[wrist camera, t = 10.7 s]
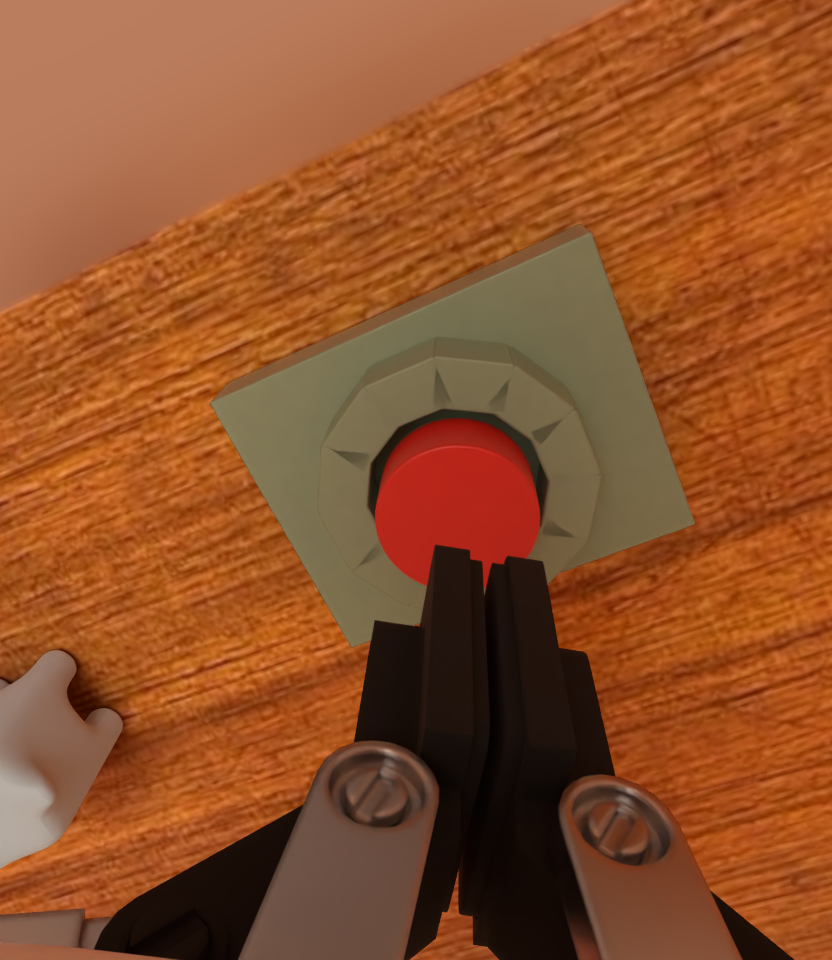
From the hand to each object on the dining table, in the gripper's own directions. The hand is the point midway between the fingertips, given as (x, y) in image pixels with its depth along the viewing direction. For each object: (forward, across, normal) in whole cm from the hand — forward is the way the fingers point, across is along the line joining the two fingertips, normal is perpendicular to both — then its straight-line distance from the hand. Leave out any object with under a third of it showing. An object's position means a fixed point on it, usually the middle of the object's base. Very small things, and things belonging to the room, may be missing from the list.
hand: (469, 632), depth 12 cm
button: (+7, 0, +1) cm, 7 cm away
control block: (+10, 0, +1) cm, 10 cm away
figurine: (+10, +13, +13) cm, 21 cm away
